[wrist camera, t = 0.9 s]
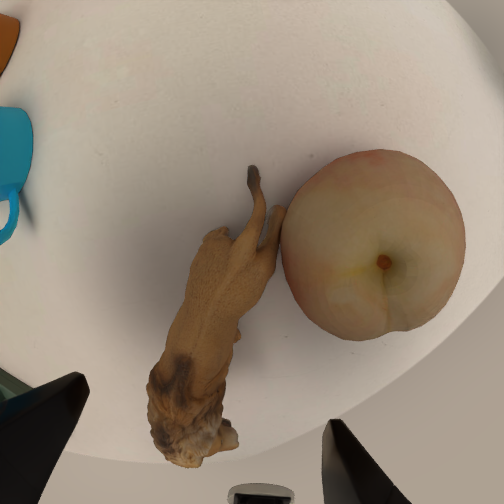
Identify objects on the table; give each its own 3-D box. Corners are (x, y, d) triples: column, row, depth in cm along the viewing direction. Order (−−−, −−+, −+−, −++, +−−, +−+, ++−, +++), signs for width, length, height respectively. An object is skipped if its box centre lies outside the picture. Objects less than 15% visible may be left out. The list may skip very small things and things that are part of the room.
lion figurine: (247, 384, 19) (228, 489, 10) (177, 366, 19) (131, 461, 11) (299, 175, 15) (327, 181, 6) (203, 156, 15) (116, 145, 6)
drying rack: (71, 435, 26) (51, 464, 20) (9, 398, 27) (-10, 419, 21) (50, 398, 24) (25, 428, 18) (-10, 361, 25) (-33, 381, 19)
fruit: (266, 168, 15) (254, 166, 7) (402, 148, 14) (492, 140, 6) (293, 302, 17) (300, 398, 9) (414, 277, 16) (483, 346, 8)
